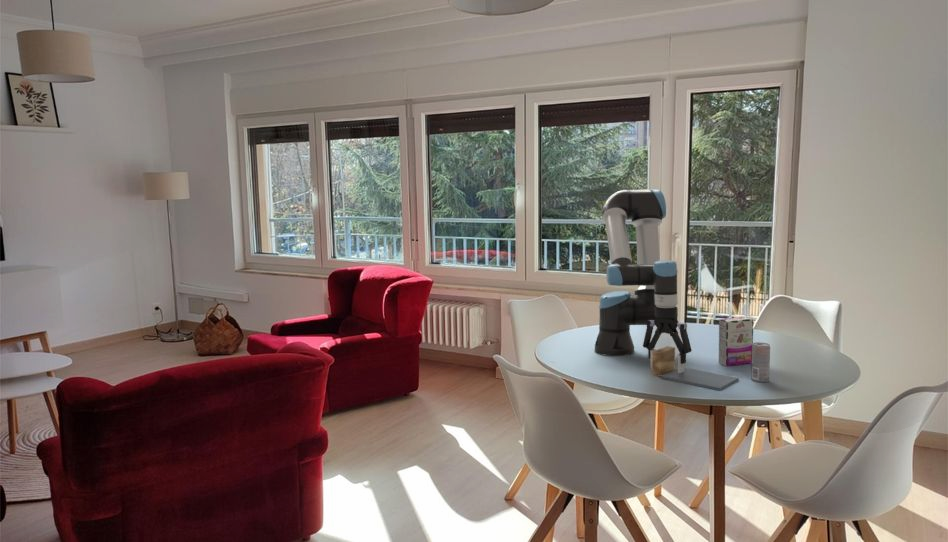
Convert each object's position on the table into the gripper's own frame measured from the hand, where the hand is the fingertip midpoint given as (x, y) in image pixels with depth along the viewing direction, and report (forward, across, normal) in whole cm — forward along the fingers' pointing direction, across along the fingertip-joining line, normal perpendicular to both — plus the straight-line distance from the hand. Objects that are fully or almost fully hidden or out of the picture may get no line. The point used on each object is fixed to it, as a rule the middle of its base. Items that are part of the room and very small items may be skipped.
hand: (667, 370), depth 215 cm
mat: (+1, +12, 0) cm, 12 cm away
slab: (+1, -1, 0) cm, 2 cm away
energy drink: (+2, +27, +12) cm, 29 cm away
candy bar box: (+1, +13, +26) cm, 29 cm away
